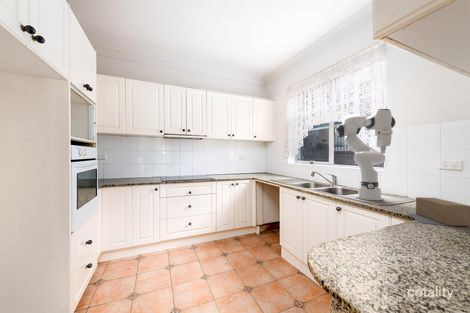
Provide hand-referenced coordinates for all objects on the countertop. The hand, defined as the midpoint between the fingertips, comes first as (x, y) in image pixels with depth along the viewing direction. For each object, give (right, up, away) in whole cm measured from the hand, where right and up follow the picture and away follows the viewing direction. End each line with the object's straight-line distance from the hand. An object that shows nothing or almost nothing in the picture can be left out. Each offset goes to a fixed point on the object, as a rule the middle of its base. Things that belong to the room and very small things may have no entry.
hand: (383, 153), depth 131 cm
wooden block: (+12, -31, -16) cm, 37 cm away
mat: (+5, -36, -25) cm, 44 cm away
